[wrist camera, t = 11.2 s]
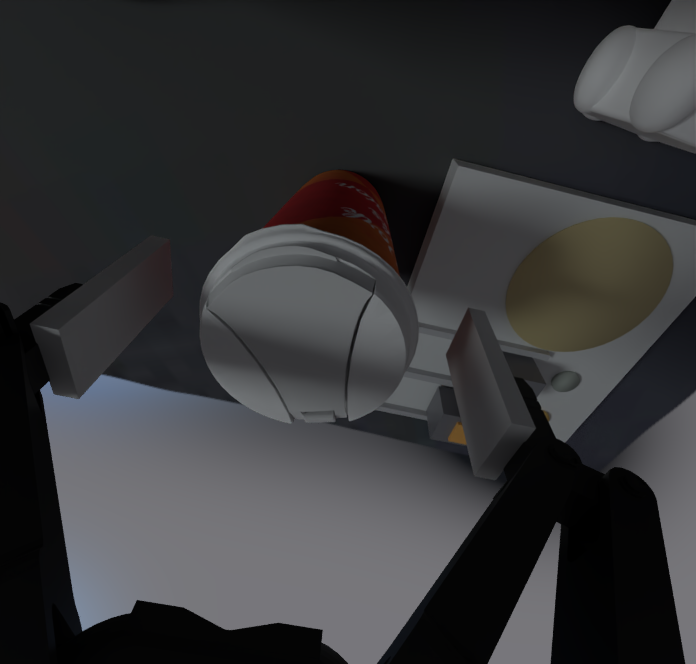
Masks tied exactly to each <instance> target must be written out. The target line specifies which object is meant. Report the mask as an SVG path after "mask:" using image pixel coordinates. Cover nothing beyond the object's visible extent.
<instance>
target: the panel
mask: <svg viewBox="0 0 696 664" xmlns="http://www.w3.org/2000/svg"><path fill="white" fill-rule="evenodd" d="M407 288H408V290H409V292H410V294H411V295H412V298H413V301H414V304H415V307H416V310H417V315H418V322H419V338H418V344H417V348H416V352H415V355H414V357H413V359H412V362H411V364H410V366H409V368H408V369H407V370H406V372H405V373H404V376H403V378H402V380H401V382H400V384H399V386H398V387H397V388H396V390H395V391H394V392H393V394H392V395H391V396H390V397H389V398H388V399H387V400H386V401H385V402H384V403H383V404H382V405H381V406H379V407H378V408H376V409H375V410H379V411H384V412H389V413H394V414H399V415H403V416H408V417H413V418H418V419H423V420H427V413H426V410H427V408H428V406H429V404H430V402H431V400H432V398H433V396H434V394H435V392H436V390H437V388H438V386H441V387H446V388H451V389H454V388H453V384H452V379H451V375H450V371H449V367H448V362H447V358H446V353H447V351H448V349H449V347H450V344H451V342H452V340H453V338H454V336H455V334H456V332H457V330H458V328H459V326H460V324H461V321H462V319H463V317H464V315H465V313H466V311H467V309H468V307H469V308H473V309H477V310H482V311H485V313H486V315H487V318H488V320H489V322H490V324H491V327H492V329H493V331H494V334H495V336H496V338H497V340H498V343H499V345H500V347H501V350H502V352H503V354H504V356H505V359H506V361H507V363H508V366H509V368H510V370H511V372H512V375H513V376H514V377H519V378H523V379H524V380H525V381H526V382H527V383H528V385H529V386H530V387H531V388H532V389H533V391H534V393H535V395H536V397H537V401H539V404H540V406H541V410H543V412H544V414H545V416H546V418H547V420H548V422H549V424H550V426H551V428H552V431H553V433H554V435H555V437H556V439H559V440H561V441H563V442H566V441H567V440H568V439H569V437H570V436H571V435H572V434H573V433H574V432H575V431H576V430H577V428H578V427H579V426H580V425H581V424H582V423H583V422H584V421H585V420H586V418H587V417H588V416H589V415H590V414H591V413H592V412H593V411H594V409H595V408H596V407H597V406H598V405H599V404H600V403H601V402H602V401H603V399H604V398H605V397H606V396H607V395H608V394H609V393H610V392H611V390H612V389H613V388H614V387H615V386H616V385H617V384H618V383H619V382H620V380H621V379H622V378H623V377H624V376H625V375H626V374H627V373H628V371H629V370H630V369H631V368H632V367H633V366H634V365H635V364H636V363H637V361H638V360H639V359H640V358H641V357H642V356H643V355H644V354H645V352H646V351H647V350H648V349H649V348H650V347H651V346H652V345H653V344H654V342H655V341H656V340H657V339H658V338H659V337H660V336H661V335H662V333H663V332H664V331H665V330H666V329H667V328H668V327H669V326H670V325H671V323H672V322H673V321H674V320H675V319H676V318H677V317H678V316H679V314H680V313H681V312H682V311H683V310H684V309H685V308H686V307H687V306H688V304H689V303H690V302H691V301H692V300H693V299H694V298H695V297H696V220H693V219H689V218H685V217H681V216H678V215H674V214H670V213H666V212H662V211H658V210H654V209H650V208H646V207H642V206H638V205H634V204H630V203H626V202H623V201H619V200H615V199H611V198H607V197H603V196H599V195H595V194H591V193H587V192H583V191H579V190H575V189H571V188H568V187H564V186H560V185H556V184H552V183H548V182H544V181H540V180H536V179H532V178H528V177H524V176H520V175H516V174H513V173H509V172H505V171H501V170H497V169H493V168H489V167H485V166H481V165H477V164H473V163H469V162H465V161H461V160H458V159H454V158H453V159H452V162H451V165H450V167H449V170H448V173H447V176H446V179H445V182H444V184H443V187H442V190H441V193H440V196H439V199H438V201H437V204H436V207H435V210H434V213H433V215H432V218H431V221H430V224H429V227H428V230H427V232H426V235H425V238H424V241H423V244H422V246H421V249H420V252H419V255H418V258H417V261H416V263H415V266H414V269H413V272H412V275H411V278H410V280H409V283H408V286H407Z"/></svg>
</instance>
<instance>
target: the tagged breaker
mask: <svg viewBox="0 0 696 664" xmlns="http://www.w3.org/2000/svg"><path fill="white" fill-rule="evenodd" d="M426 413H427V420H428V428H429V435H430V439H434V440H439V441H444V442H449V443H454V444H459V445H464V446H467V443H466V439H465V435H464V431H463V426H462V422H461V418H460V413H459V409H458V405H457V401H456V396H455V392H454V389H451V388H446V387H441V386H438V388H437V390H436V392H435V394H434V396H433V398H432V400H431V402H430V404H429V406H428V408H427V410H426Z"/></svg>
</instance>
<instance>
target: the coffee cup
mask: <svg viewBox="0 0 696 664" xmlns="http://www.w3.org/2000/svg"><path fill="white" fill-rule="evenodd" d="M199 316H200V342H201V348H202V352H203V355H204V358H205V361H206V363H207V365H208V367H209V369H210V371H211V372H212V374H213V376H214V377H215V378H216V380H217V381H218V382H219V384H220V385H221V386H222V387H223V388H224V389H225V390H226V391H227V392H228V393H229V394H230V395H231V396H232V397H234V398H235V399H236V400H238V401H239V402H240V403H242V404H243V405H245V406H247V407H248V408H250V409H252V410H253V411H255V412H257V413H260V414H262V415H264V416H266V417H269V418H272V419H275V420H278V421H281V422H286V423H291V424H292V423H293V422H294V419H297V420H298V419H304V420H305V422H306V423H318V422H335V421H336V420H335V418H345V417H347V414H348V418H349V421H352V420H355V419H358V418H360V417H362V416H364V415H366V414H368V413H370V412H372V411H373V410H375V409H376V408H378V407H379V406H381V405H382V404H383V403H384V402H385V401H386V400H387V399H388V398H389V397H390V396H391V395H392V394H393V392H394V391H395V390H396V388H397V387H398V386H399V384H400V382H401V380H402V378H403V376H404V373H405V372H406V370H407V369H408V368H409V366H410V364H411V362H412V359H413V357H414V355H415V352H416V348H417V344H418V338H419V322H418V315H417V310H416V307H415V304H414V301H413V298H412V295H411V294H410V292H409V290H408V288H407V286H406V285H405V283H404V281H403V280H402V279H401V277H400V275H399V271H398V266H397V262H396V257H395V253H394V248H393V243H392V239H391V235H390V230H389V226H388V222H387V217H386V213H385V210H384V206H383V203H382V201H381V198H380V196H379V194H378V192H377V191H376V189H375V188H374V187H373V186H372V185H371V183H369V182H368V181H367V180H366V179H365V178H363V177H362V176H360V175H358V174H356V173H353V172H350V171H346V170H331V171H327V172H323V173H321V174H319V175H317V176H315V177H314V178H312V179H311V180H310V181H308V182H307V183H306V184H305V185H304V186H303V187H302V188H301V189H300V190H299V191H298V192H297V193H296V194H295V195H294V196H293V197H292V198H291V199H290V200H289V201H288V202H287V203H286V204H285V205H284V206H283V207H282V208H281V209H280V211H279V212H278V213H277V214H276V215H275V216H274V217H273V218H272V219H271V220H270V221H269V222H268V223H267V224H266V225H265V227H264V228H262V229H260V230H257V231H254V232H252V233H249V234H247V235H245V236H244V237H243V238H242V239H241V240H240V241H239V242H238V243H237V244H236V245H235V246H234V247H233V248H232V249H231V250H229V251H228V252H227V253H226V254H225V255H224V256H223V257H222V258H221V259H219V261H218V262H217V263H216V265H215V266H214V267H213V269H212V270H211V271H210V273H209V275H208V277H207V279H206V281H205V284H204V286H203V289H202V293H201V298H200V311H199Z"/></svg>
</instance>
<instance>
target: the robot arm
mask: <svg viewBox="0 0 696 664" xmlns="http://www.w3.org/2000/svg"><path fill="white" fill-rule="evenodd" d="M172 296H173V284H172V269H171V254H170V240H169V239H165V238H160V237H156V236H150V237H148V238H147V239H145V240H144V241H143V242H141V243H140V244H139V245H137V246H136V247H134V248H133V249H132V250H130V251H129V252H128V253H126V254H125V255H123V256H122V257H121V258H119V259H118V260H117V261H115V262H114V263H112V264H111V265H110V266H108V267H107V268H106V269H104V270H103V271H101V272H100V273H99V274H97V275H96V276H95V277H93V278H92V279H90V280H89V281H88V282H86V283H85V284H84V285H83V284H78V283H74V284H71V285H68V286H66V287H63V288H60V289H58V290H57V291H55V292H54V293H52V294H51V295H50V296H48V298H45V299H44V300H42V301H41V302H39V304H38V305H35V306H33V307H32V308H31V309H29V310H28V311H26V312H25V313H23V314H22V315H20V316H19V317H17V318H16V319H15V320H14V319H13V316H12V314H11V311H10V309H9V307H8V306H7V305H5V304H3V303H0V664H348V663H347V662H346V661H345V660H344V659H343V658H342V657H341V656H340V655H339V654H338V653H337V652H335V651H334V650H333V649H331V648H330V647H329V646H327V645H325V644H323V643H321V641H322V631H323V630H320V629H313V628H307V627H301V626H294V625H289V624H282V623H274V624H268V625H261V626H255V627H249V628H242V629H237V630H225V629H223V628H221V627H218V626H217V625H215V624H213V623H211V622H210V621H208V620H206V619H204V618H202V617H200V616H198V615H196V614H194V613H193V612H191V611H189V610H187V609H185V608H182V607H176V606H170V605H164V604H158V603H152V602H146V601H139V600H137V601H136V603H135V606H134V608H133V610H132V612H131V613H130V614H124V615H121V616H117V617H113V618H110V619H108V620H105V621H103V622H100V623H98V624H96V625H94V626H92V627H90V628H88V629H86V630H84V631H82V627H81V623H80V619H79V616H78V612H77V609H76V606H75V601H74V597H73V591H72V584H71V579H70V571H69V565H68V558H67V552H66V546H65V539H64V533H63V526H62V520H61V513H60V507H59V500H58V494H57V488H56V481H55V475H54V468H53V462H52V455H51V449H50V442H49V437H48V430H47V423H46V416H45V411H44V404H43V398H42V394H41V392H40V389H41V388H42V387H43V386H44V385H45V384H46V383H47V382H48V381H49V382H50V385H51V387H52V390H53V393H54V394H55V395H60V396H66V397H71V398H76V399H79V398H80V397H81V396H82V395H83V394H84V393H85V392H86V390H87V389H88V388H89V387H90V386H91V385H92V384H93V383H94V382H95V381H96V380H97V379H98V377H99V376H100V375H101V374H102V373H103V372H104V371H105V370H106V369H107V368H108V366H109V365H110V364H111V363H112V362H113V361H114V360H115V359H116V358H117V357H118V355H119V354H120V353H121V352H122V351H123V350H124V349H125V348H126V347H127V346H128V345H129V343H130V342H131V341H132V340H133V339H134V338H135V337H136V336H137V335H138V334H139V332H140V331H141V330H142V329H143V328H144V327H145V326H146V325H147V324H148V323H149V321H150V320H151V319H152V318H153V317H154V316H155V315H156V314H157V313H158V312H159V311H160V309H161V308H162V307H163V306H164V305H165V304H166V303H167V302H168V301H169V300H170V298H171V297H172ZM446 358H447V362H448V367H449V371H450V375H451V379H452V384H453V388H454V392H455V396H456V401H457V405H458V409H459V413H460V418H461V422H462V426H463V431H464V435H465V439H466V443H467V448H468V452H469V456H470V460H471V464H472V469H473V473H474V476H476V477H481V478H487V479H492V480H496V479H497V478H498V477H499V475H500V474H501V473H502V471H503V470H504V472H505V475H506V478H507V482H506V483H505V484H504V485H503V487H502V488H501V489H500V490H499V491H498V493H497V494H496V495H495V496H494V498H493V501H492V502H491V504H490V505H489V507H488V508H487V509H486V511H485V512H484V514H483V515H482V516H481V518H480V519H479V521H478V522H477V523H476V525H475V526H474V528H473V529H472V531H471V532H470V533H469V535H468V536H467V538H466V539H465V540H464V542H463V543H462V545H461V546H460V548H459V549H458V551H457V552H456V553H455V555H454V556H453V558H452V559H451V560H450V562H449V563H448V565H447V566H446V567H445V569H444V571H443V572H442V573H441V575H440V576H439V578H438V579H437V580H436V582H435V583H434V585H433V586H432V588H431V589H430V590H429V592H428V593H427V595H426V596H425V597H424V599H423V600H422V602H421V603H420V605H419V606H418V607H417V609H416V610H415V612H414V613H413V614H412V616H411V617H410V619H409V620H408V622H407V623H406V625H405V626H404V627H403V629H402V630H401V631H400V633H399V634H398V636H397V637H396V639H395V640H394V641H393V643H392V644H391V646H390V647H389V648H388V650H387V651H386V653H385V654H384V655H383V656H382V658H381V659H380V660H379V662H378V663H377V664H488V662H489V659H490V657H491V655H492V653H493V651H494V649H495V647H496V645H497V643H498V641H499V639H500V637H501V635H502V633H503V631H504V629H505V626H506V624H507V622H508V620H509V618H510V616H511V614H512V612H513V610H514V608H515V606H516V604H517V602H518V600H519V597H520V595H521V593H522V591H523V589H524V587H525V585H526V583H527V581H528V579H529V577H530V575H531V573H532V571H533V569H534V567H535V564H536V563H537V560H538V558H539V556H540V554H541V552H542V550H543V548H544V546H545V544H546V542H547V540H548V538H549V536H550V534H551V532H552V529H553V527H554V525H555V523H556V522H558V523H560V524H561V535H560V548H559V560H558V561H559V562H558V574H557V587H556V600H555V613H554V627H553V640H552V653H551V654H552V655H551V664H685V660H684V654H683V648H682V642H681V637H680V631H679V625H678V620H677V614H676V608H675V602H674V597H673V591H672V585H671V579H670V575H669V568H668V563H667V557H666V551H665V545H664V540H663V534H662V528H661V522H660V517H659V511H658V505H657V500H656V497H655V495H654V492H653V491H652V490H651V488H650V487H649V486H648V485H647V483H646V482H644V480H642V479H641V478H640V477H639V476H637V475H636V474H634V473H633V472H631V471H629V470H626V469H623V468H618V467H614V468H612V469H610V470H609V471H608V472H607V473H606V474H603V473H601V472H599V471H596V470H594V469H592V468H590V467H588V466H585V465H583V464H582V462H581V460H580V457H579V456H578V454H577V453H576V452H575V451H574V449H572V448H571V447H570V446H569V445H568V444H566V443H565V442H563V441H561V440H559V439H556V437H555V435H554V433H553V431H552V428H551V426H550V424H549V422H548V420H547V418H546V416H545V414H544V412H543V410H541V406H540V404H539V401H537V397H536V395H535V393H534V391H533V389H532V388H531V387H530V386H529V385H528V383H527V382H526V381H525V380H524V379H523V378H519V377H514V376H513V375H512V372H511V370H510V368H509V366H508V363H507V361H506V359H505V356H504V354H503V352H502V350H501V347H500V345H499V343H498V340H497V338H496V336H495V334H494V331H493V329H492V327H491V324H490V322H489V320H488V318H487V315H486V313H485V311H482V310H477V309H473V308H469V307H468V309H467V311H466V313H465V315H464V317H463V319H462V321H461V324H460V326H459V328H458V330H457V332H456V334H455V336H454V338H453V340H452V342H451V344H450V347H449V349H448V351H447V353H446Z"/></svg>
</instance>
